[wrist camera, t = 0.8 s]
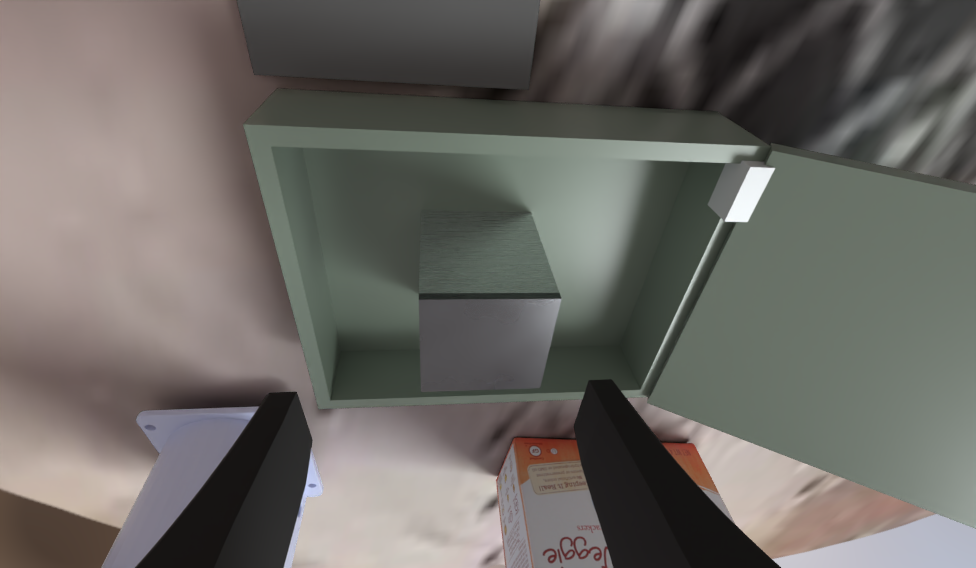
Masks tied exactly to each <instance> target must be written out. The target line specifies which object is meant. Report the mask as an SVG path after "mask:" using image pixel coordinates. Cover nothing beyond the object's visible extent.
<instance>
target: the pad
mask: <svg viewBox="0 0 976 568" xmlns="http://www.w3.org/2000/svg"><path fill="white" fill-rule="evenodd" d="M237 4H238V8H239V12H240V17H241V21H242V25H243V30H244V34H245V38H246V42H247V47H248V51H249V55H250V60H251V64H252V68H253V72H254V75H269V76H287V77H305V78H323V79H341V80H359V81H376V82H394V83H412V84H430V85H448V86H466V87H484V88H501V89H519V90H529V83H530V76H531V68H532V60H533V53H534V45H535V37H536V29H537V22H538V14H539V6H540V0H237Z"/></svg>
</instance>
